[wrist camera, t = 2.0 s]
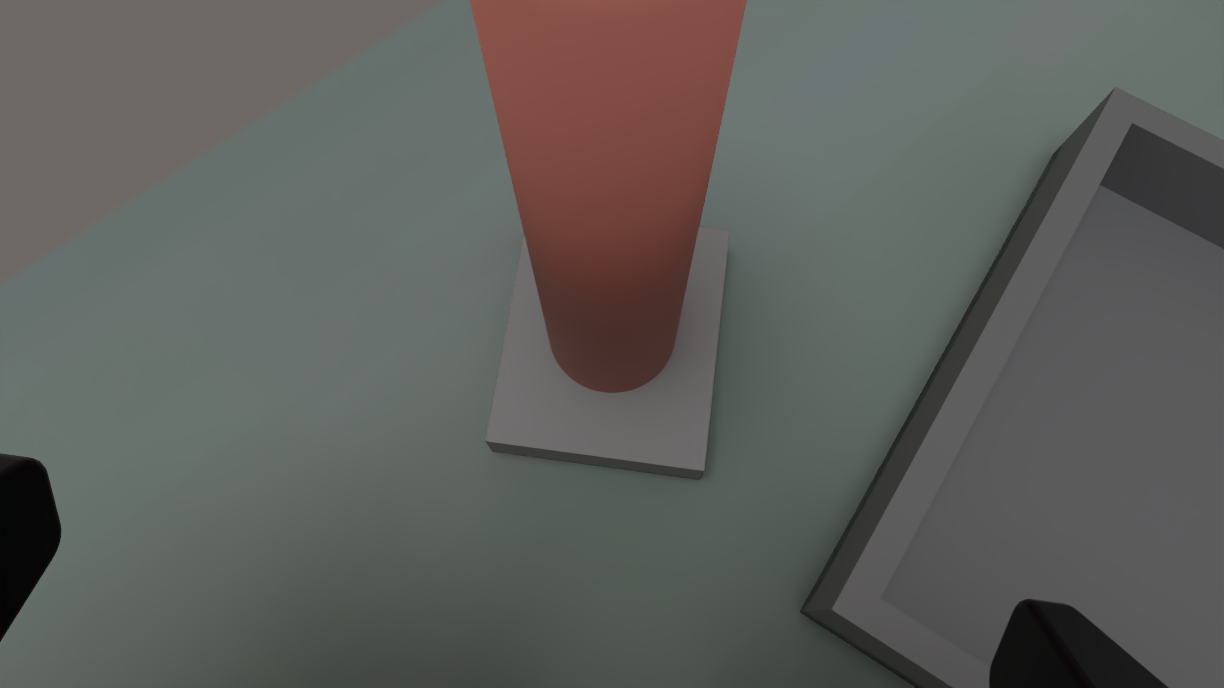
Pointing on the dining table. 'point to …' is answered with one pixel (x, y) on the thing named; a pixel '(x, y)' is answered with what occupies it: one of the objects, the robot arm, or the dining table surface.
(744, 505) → the dining table surface
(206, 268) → the dining table surface
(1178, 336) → the bin
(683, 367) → the red post on base
